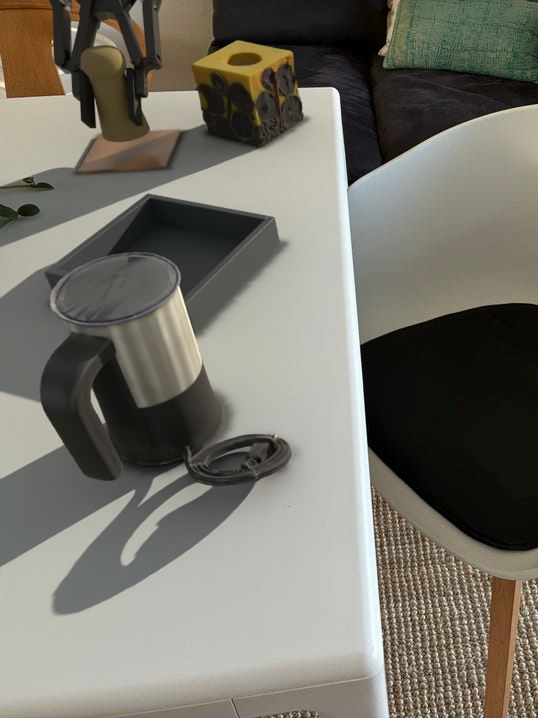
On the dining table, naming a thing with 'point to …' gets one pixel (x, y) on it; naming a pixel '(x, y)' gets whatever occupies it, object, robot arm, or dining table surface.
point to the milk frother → (138, 377)
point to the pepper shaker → (111, 93)
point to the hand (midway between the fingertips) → (112, 122)
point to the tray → (185, 248)
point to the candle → (248, 92)
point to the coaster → (131, 153)
